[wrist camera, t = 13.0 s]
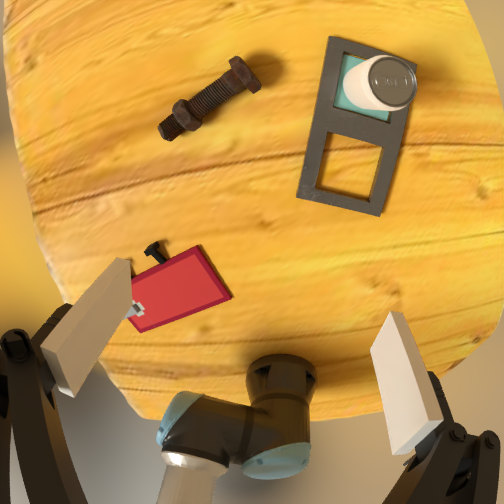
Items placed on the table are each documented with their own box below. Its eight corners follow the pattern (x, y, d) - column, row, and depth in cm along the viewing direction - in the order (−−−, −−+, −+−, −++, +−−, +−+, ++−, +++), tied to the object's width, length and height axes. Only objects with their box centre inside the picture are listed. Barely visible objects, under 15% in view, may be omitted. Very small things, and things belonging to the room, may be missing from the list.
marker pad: (386, 121, 37) (386, 121, 37) (333, 106, 37) (333, 106, 37) (396, 71, 34) (396, 71, 33) (343, 54, 34) (343, 54, 33)
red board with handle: (78, 286, 57) (120, 337, 63) (71, 293, 55) (115, 345, 60) (185, 224, 48) (232, 294, 54) (180, 231, 46) (230, 304, 52)
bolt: (170, 127, 43) (251, 69, 37) (181, 152, 42) (267, 92, 37) (145, 115, 37) (233, 48, 32) (155, 142, 37) (249, 72, 31)
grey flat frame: (377, 214, 44) (379, 217, 43) (295, 195, 44) (296, 197, 43) (413, 65, 33) (416, 64, 32) (328, 37, 33) (329, 35, 32)
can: (339, 65, 34) (360, 51, 24) (383, 66, 33) (417, 55, 23) (344, 109, 37) (367, 111, 27) (388, 109, 36) (423, 113, 26)
